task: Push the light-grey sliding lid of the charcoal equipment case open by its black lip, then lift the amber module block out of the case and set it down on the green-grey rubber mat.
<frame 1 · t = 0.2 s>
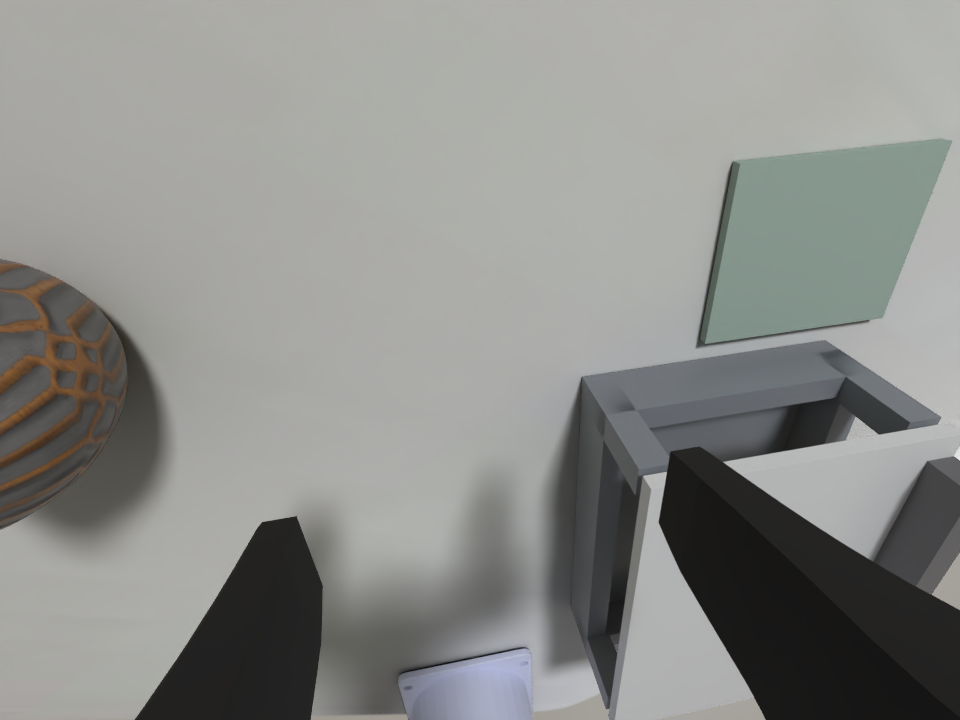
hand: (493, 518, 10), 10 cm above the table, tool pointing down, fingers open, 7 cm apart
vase: (41, 328, 17), on the table
lid: (766, 619, 20), point 7 cm above the table, slide at 0.0 cm
mat: (812, 246, 20), on the table
case: (680, 491, 26), on the table
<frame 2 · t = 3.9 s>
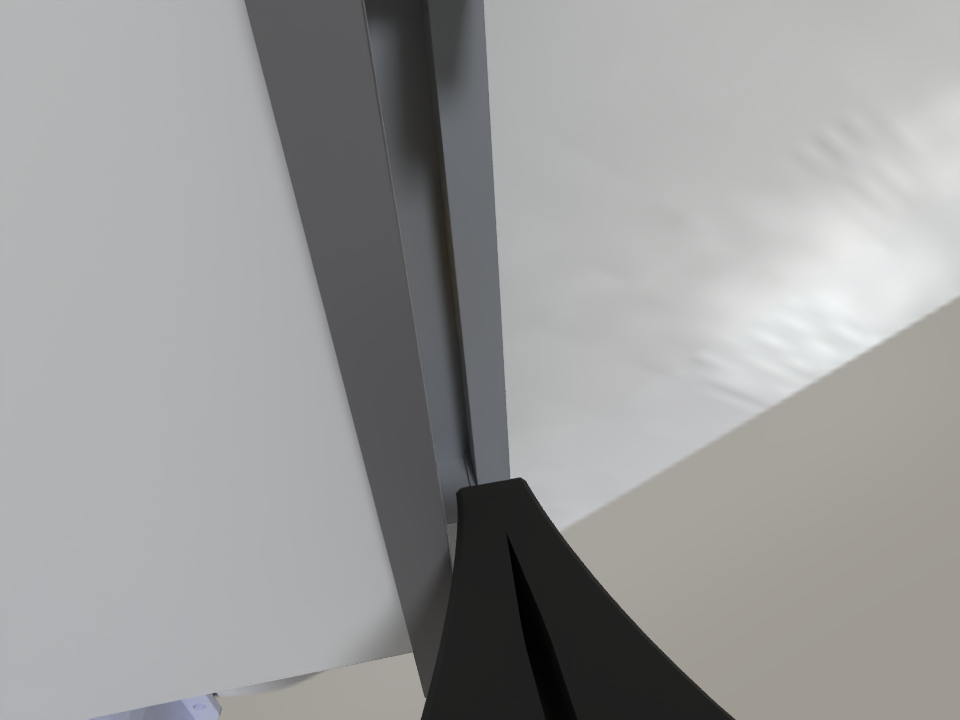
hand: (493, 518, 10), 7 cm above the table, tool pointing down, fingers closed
lid: (65, 455, 8), point 7 cm above the table, slide at 2.1 cm, touching gripper
case: (279, 269, 14), on the table
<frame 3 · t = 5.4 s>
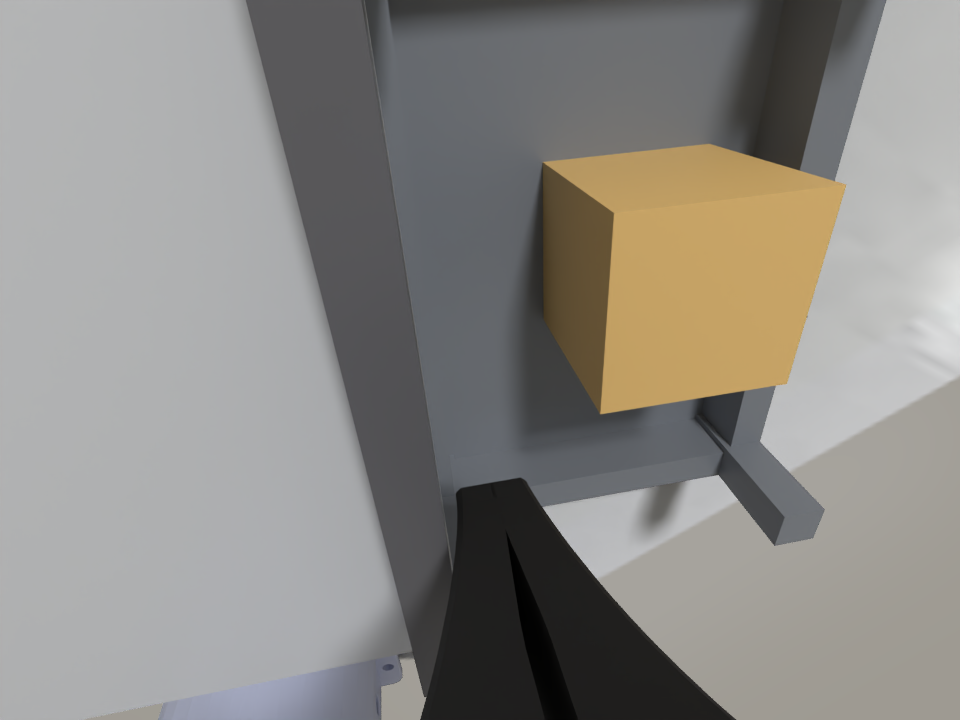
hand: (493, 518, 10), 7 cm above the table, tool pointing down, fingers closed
module: (620, 237, 14), point 1 cm above the table, touching case
lid: (65, 454, 8), point 7 cm above the table, slide at 10.4 cm, touching gripper
case: (576, 232, 15), on the table
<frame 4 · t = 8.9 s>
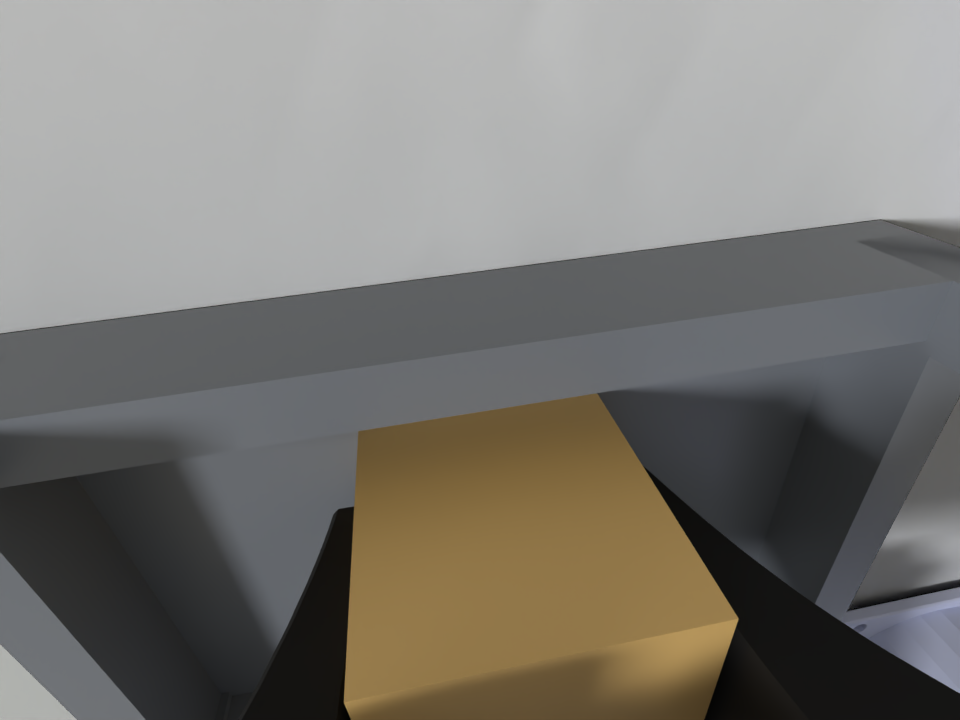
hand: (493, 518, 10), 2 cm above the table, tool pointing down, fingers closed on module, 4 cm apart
module: (486, 492, 11), point 1 cm above the table, touching case, gripper
case: (483, 497, 12), on the table
when the fingers open (3 cm above the table, at t = 12.5 s): module stays where it is, resting on mat.
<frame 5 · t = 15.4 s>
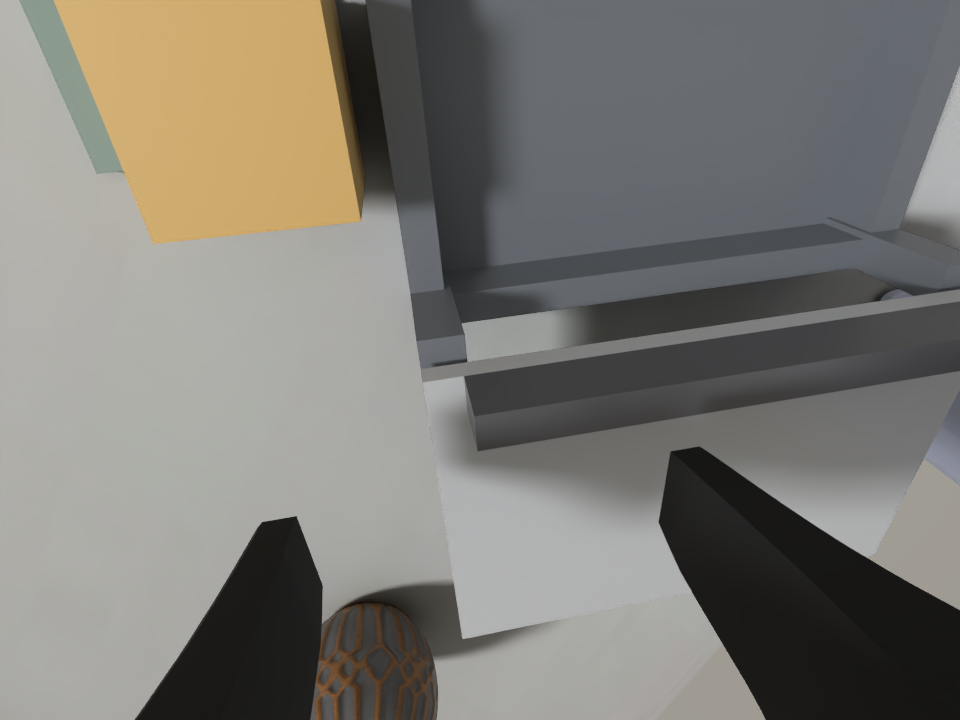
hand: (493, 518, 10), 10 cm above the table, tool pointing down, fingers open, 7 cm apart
module: (269, 101, 14), resting on mat
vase: (366, 621, 27), on the table
lid: (709, 500, 16), point 7 cm above the table, slide at 10.4 cm
case: (645, 98, 16), on the table
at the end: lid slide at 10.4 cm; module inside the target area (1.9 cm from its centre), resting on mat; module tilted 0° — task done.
